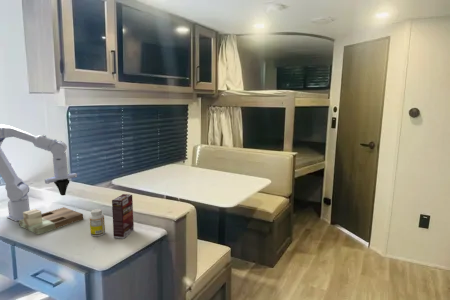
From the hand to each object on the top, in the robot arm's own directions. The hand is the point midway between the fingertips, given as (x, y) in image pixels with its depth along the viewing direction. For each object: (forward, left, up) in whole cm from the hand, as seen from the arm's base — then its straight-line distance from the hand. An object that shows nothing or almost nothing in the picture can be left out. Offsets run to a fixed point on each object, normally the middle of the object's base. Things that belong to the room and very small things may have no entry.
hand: (62, 194), depth 150 cm
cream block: (+6, -17, -7) cm, 19 cm away
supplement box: (+43, +1, -10) cm, 44 cm away
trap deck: (+6, -9, -9) cm, 14 cm away
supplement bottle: (+34, -5, -10) cm, 36 cm away
